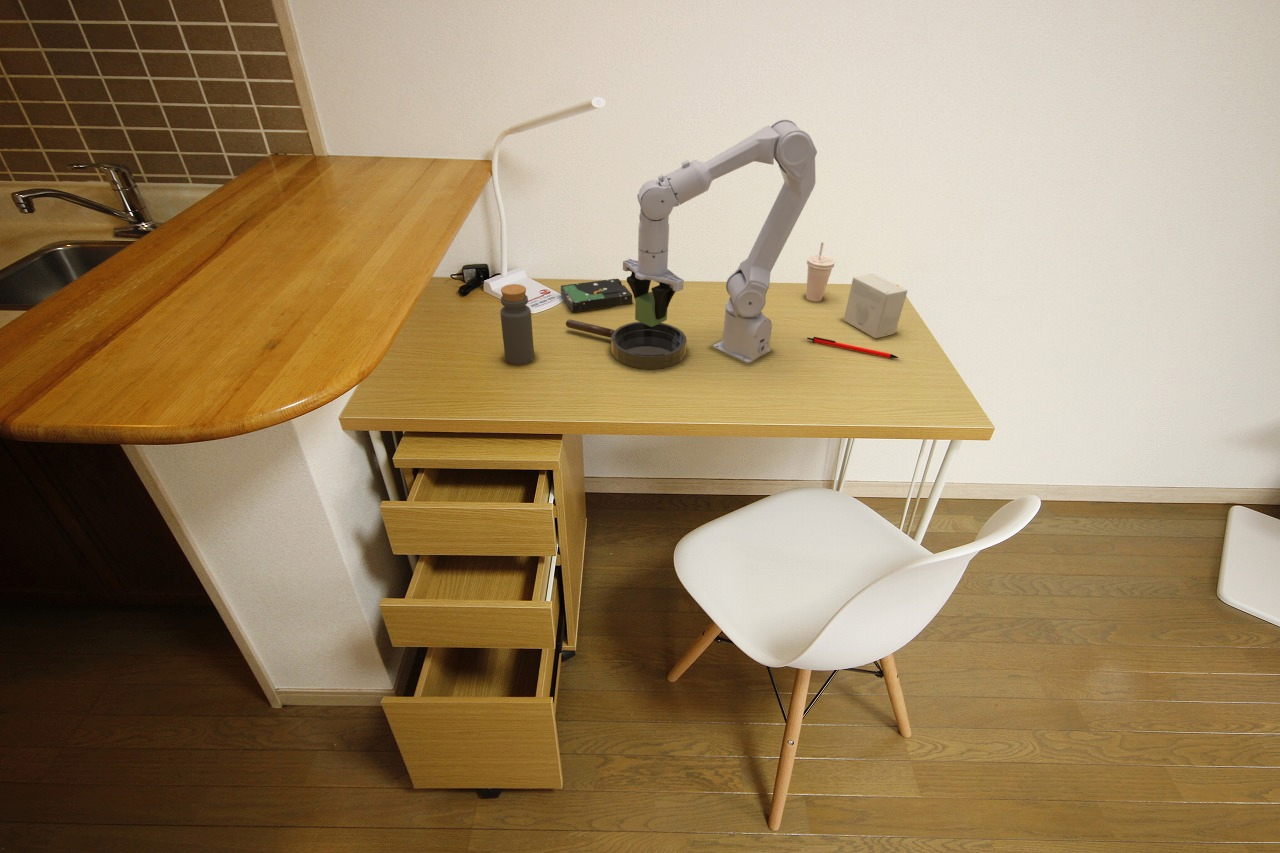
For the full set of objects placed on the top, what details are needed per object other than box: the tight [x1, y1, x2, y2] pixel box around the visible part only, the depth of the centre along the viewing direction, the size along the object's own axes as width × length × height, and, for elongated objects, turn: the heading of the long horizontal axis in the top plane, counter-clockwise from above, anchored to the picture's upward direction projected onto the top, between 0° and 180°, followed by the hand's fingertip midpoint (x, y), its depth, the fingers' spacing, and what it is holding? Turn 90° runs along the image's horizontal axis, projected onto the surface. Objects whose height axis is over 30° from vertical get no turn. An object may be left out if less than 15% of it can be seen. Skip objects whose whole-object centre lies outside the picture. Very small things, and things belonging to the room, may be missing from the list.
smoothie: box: [805, 241, 836, 303], centre depth 156 cm, size 6×6×14 cm
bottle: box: [499, 283, 535, 366], centre depth 129 cm, size 6×6×15 cm
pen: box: [806, 336, 900, 359], centre depth 139 cm, size 1×19×1 cm, turn 66°
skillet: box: [610, 321, 687, 370], centre depth 136 cm, size 15×15×3 cm
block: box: [634, 291, 668, 327], centre depth 132 cm, size 5×5×5 cm
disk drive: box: [560, 278, 633, 313], centre depth 156 cm, size 10×3×15 cm
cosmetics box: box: [843, 273, 908, 339], centre depth 145 cm, size 10×6×10 cm, turn 28°
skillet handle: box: [565, 319, 615, 339], centre depth 140 cm, size 12×2×2 cm, turn 65°
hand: (651, 313), depth 132 cm, fingers closed on block, 4 cm apart
